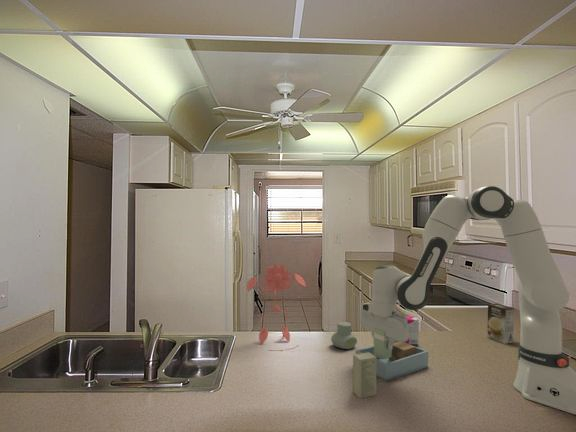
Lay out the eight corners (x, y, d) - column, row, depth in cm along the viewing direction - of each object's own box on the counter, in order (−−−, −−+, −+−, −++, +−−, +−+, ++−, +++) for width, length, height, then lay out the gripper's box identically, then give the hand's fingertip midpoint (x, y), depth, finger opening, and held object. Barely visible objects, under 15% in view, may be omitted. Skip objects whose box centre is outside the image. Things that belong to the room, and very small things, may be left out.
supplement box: (414, 341, 157) (415, 316, 157) (418, 346, 151) (419, 320, 151) (401, 340, 158) (402, 315, 158) (405, 345, 152) (405, 319, 152)
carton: (391, 357, 126) (392, 329, 126) (383, 359, 123) (383, 331, 124) (381, 352, 130) (382, 326, 130) (373, 355, 127) (374, 328, 127)
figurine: (244, 339, 154) (246, 261, 153) (299, 336, 159) (302, 261, 159) (247, 354, 139) (250, 267, 138) (309, 350, 144) (311, 267, 144)
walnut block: (415, 362, 132) (415, 346, 132) (403, 366, 128) (404, 350, 128) (400, 355, 138) (400, 340, 138) (388, 359, 134) (389, 344, 134)
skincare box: (369, 389, 112) (369, 351, 112) (376, 396, 107) (377, 357, 107) (351, 391, 110) (352, 353, 110) (358, 398, 105) (359, 359, 106)
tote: (427, 366, 130) (428, 351, 130) (385, 382, 117) (386, 364, 117) (396, 353, 142) (396, 339, 142) (355, 366, 129) (355, 350, 129)
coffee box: (486, 337, 164) (486, 303, 164) (495, 336, 167) (496, 303, 167) (504, 344, 156) (505, 308, 156) (514, 342, 158) (514, 307, 158)
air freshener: (346, 341, 155) (346, 319, 155) (359, 347, 148) (360, 324, 148) (327, 346, 149) (328, 323, 149) (341, 352, 142) (341, 328, 142)
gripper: (413, 314, 120) (412, 354, 120) (369, 301, 137) (368, 336, 137) (401, 317, 116) (400, 358, 116) (357, 303, 133) (357, 339, 133)
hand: (382, 346), depth 127 cm, fingers closed on carton, 4 cm apart
